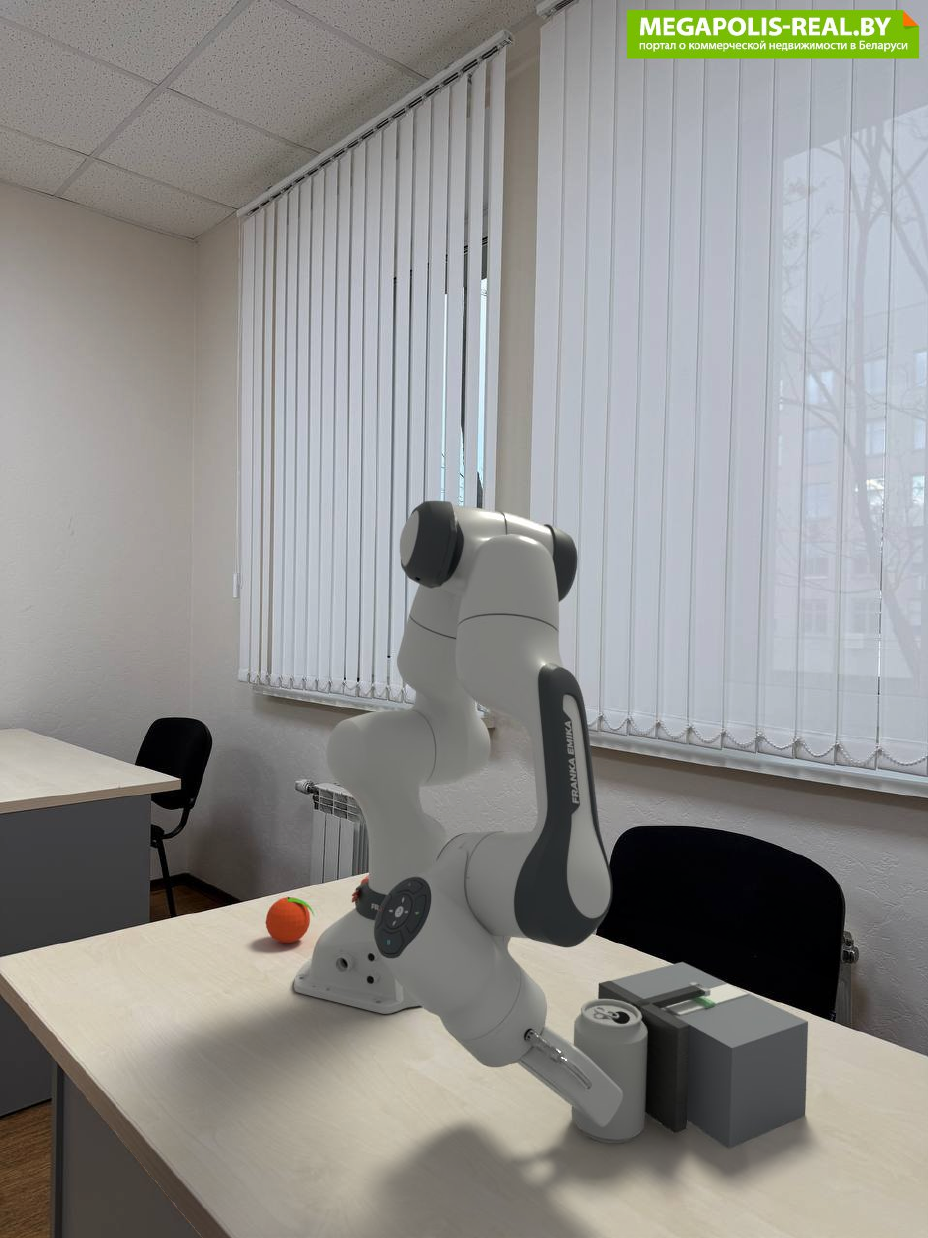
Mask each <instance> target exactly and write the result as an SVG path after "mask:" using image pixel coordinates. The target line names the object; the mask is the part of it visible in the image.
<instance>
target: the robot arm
mask: <svg viewBox="0 0 928 1238" xmlns="http://www.w3.org/2000/svg"><path fill="white" fill-rule="evenodd" d="M399 554H400V564H401V569H402V570H403V572H404V574H405V575H406V576H407V578H408V579H409V580H411V581H413V582H415V583H417V584H419V585H418V586H417V589H416V593H415V595H414V598H413V601H412V605H411V607H410V611H409V614H408V618H407V622H406V625H405V628H404V631H403V635H402V639H401V642H400V643H401V644H400V646H399V651H398V654H397V657H396V665H397V670H398V672H399V675H400V677H401V678H402V680H403V681H404V682H405V684H406V685H407V686H409V687H410V688H411V689H412V690H414V691H415V699H414V703H413V704H412V706H411V708H410V709H406V710H389V711H388V710H385V711H371V712H367V713H363V714H359V715H355V716H352V717H349V718H346V719H343V720H341V721H340V722H339V723H337V724H336V725H335V727H334V729H333V730H332V731H331V733H330V735H329V739H328V741H327V746H326V762H327V766H328V768H329V769H328V770H329V772H330V774H331V776H332V778H334V779H333V780H335V782H336V783H337V784H338V785H339V786H340V787H341V788H342V789H344V790H345V791H347V792H348V793H349V794H350V795H351V796H352V797H353V799H354V800H355V802H356V803H357V804H358V806H359V808H360V811H361V812H362V814H363V818H364V821H365V825H366V829H367V837H368V839H367V840H368V875H366V876H365V877H364V878H363V879H362V880H361V882H360V885H358V886H357V887H356V888H355V889H354V890H355V891H354V892H353V893H352V894H351V897H352V898H351V903H354V905H355V907H354V908H353V909H352V910H350V911H349V912H347V913H346V914H344V915H343V916H342V917H340V918H339V919H338V920H336V921H334V923H331V925H330V926H328V927H327V928H326V929H325V930H324V931H323V932H322V933H321V934H320V936H319V938H318V939H317V941H316V942H315V945H314V948H313V953H312V956H311V959H309V960H308V961H306V962H305V963H304V964H303V965H302V966H301V967H300V968H299V969H298V971H297V972H296V974H295V976H294V983H293V989H294V991H295V992H296V993H299V994H302V995H306V996H311V997H314V998H318V999H322V1000H325V1001H326V1000H327V1001H329V1002H331V1001H332V1002H335V1003H338V1004H343V1005H347V1006H349V1007H355V1008H359V1009H363V1010H366V1011H371V1012H375V1013H379V1014H384V1015H386V1014H387V1015H388V1014H389V1015H390V1014H392V1013H395V1012H399V1011H401V1010H403V1009H407V1008H412V1007H419V1006H420V1007H422V1009H424V1010H425V1011H427V1012H429V1014H432V1015H436V1016H437V1017H439V1020H440V1021H441V1024H442V1025H443V1028H445V1030H446V1031H447V1033H448V1034H449V1035H451V1036H452V1037H453V1039H455V1040H456V1042H458V1043H459V1044H460V1045H461V1046H462V1047H463V1048H464V1049H465V1050H466V1051H467V1052H468V1053H469V1054H470V1055H471V1056H472V1057H474V1059H476V1060H477V1061H478V1062H479V1063H480V1064H482V1065H483V1066H486V1067H488V1068H501V1067H506V1066H508V1065H513V1064H518V1065H519V1066H521V1067H522V1068H523V1069H524V1070H525V1071H527V1072H528V1073H529V1074H531V1075H532V1076H534V1078H536V1079H538V1080H539V1081H540V1082H541V1083H542V1084H544V1085H545V1086H546V1087H548V1089H550V1090H551V1091H553V1093H555V1094H556V1095H558V1096H559V1097H561V1099H562V1100H564V1101H565V1102H566V1103H568V1104H569V1105H570V1106H571V1107H572V1106H573V1107H574V1108H575V1109H577V1110H578V1111H579V1112H581V1113H582V1114H583V1115H584V1116H586V1117H587V1118H588V1119H589V1120H591V1121H592V1122H593V1123H595V1124H596V1125H598V1126H600V1127H605V1126H606V1125H607V1124H608V1123H609V1122H610V1121H611V1119H612V1118H613V1116H614V1115H615V1113H616V1112H617V1110H618V1108H619V1106H620V1105H621V1102H622V1100H623V1092H622V1090H621V1089H620V1088H619V1087H618V1086H617V1085H616V1084H615V1083H614V1082H613V1081H612V1080H611V1079H610V1078H609V1077H608V1076H607V1075H606V1074H605V1073H604V1072H603V1071H602V1070H601V1069H600V1068H599V1067H598V1066H597V1065H596V1064H595V1063H594V1062H593V1061H592V1060H591V1059H590V1058H589V1057H588V1056H587V1055H585V1054H584V1053H583V1052H582V1051H581V1050H579V1049H578V1048H577V1047H576V1046H574V1043H572V1042H570V1041H569V1040H567V1039H566V1038H564V1037H563V1036H561V1035H560V1034H558V1033H557V1032H555V1031H554V1030H553V1029H552V1028H550V1027H548V1026H546V1019H547V1015H548V1013H547V1012H548V1003H547V999H546V998H547V997H546V995H545V993H544V991H543V989H542V988H541V986H540V985H539V984H538V983H537V982H536V981H535V980H534V979H533V978H532V977H531V975H529V973H527V972H526V970H524V969H523V967H522V966H521V965H520V964H519V963H518V962H517V961H516V960H515V958H514V957H513V956H512V955H511V954H510V952H509V948H508V946H509V942H510V940H511V938H519V939H529V940H531V941H534V942H539V943H544V944H548V945H551V946H556V947H561V948H573V947H576V946H579V945H580V944H582V943H584V942H585V941H586V940H587V939H588V938H589V937H590V936H591V935H592V934H593V933H594V932H595V931H596V930H597V929H598V927H599V926H600V925H601V924H602V922H603V921H604V919H605V917H606V915H608V913H609V909H610V907H611V903H612V899H613V880H612V878H613V877H612V873H611V869H610V863H609V860H608V856H607V853H606V852H607V851H606V848H605V846H604V842H603V836H602V834H601V828H600V820H599V811H598V805H597V802H598V801H597V794H596V793H597V792H596V787H595V777H594V769H593V760H592V759H593V758H592V751H591V741H590V733H589V726H588V718H587V711H586V706H585V705H586V704H585V702H584V701H585V700H584V696H583V693H582V689H581V687H580V684H579V682H578V680H577V678H576V677H575V676H574V674H573V673H572V672H571V671H570V670H569V669H567V668H565V667H564V665H563V662H562V658H561V654H560V645H559V642H560V640H559V638H560V637H559V636H560V635H559V634H560V602H562V601H563V600H564V599H565V598H566V597H567V595H568V594H569V592H570V590H571V589H572V586H573V584H574V582H575V579H576V574H577V569H578V561H579V560H578V559H579V558H578V550H577V548H576V545H575V542H574V539H573V538H572V536H571V535H569V534H568V533H567V532H565V531H563V530H562V529H559V528H558V527H555V526H553V525H551V524H548V523H546V524H541V523H538V522H536V521H535V520H531V519H528V518H526V517H522V516H519V515H517V514H513V513H509V512H506V511H502V510H498V511H497V510H496V511H495V510H490V509H486V508H481V507H480V508H479V507H476V506H475V507H474V506H468V505H459V504H458V505H457V504H452V502H451V501H446V500H426V501H423V502H421V503H420V504H419V505H417V506H416V507H415V508H413V510H412V512H411V513H410V516H409V517H408V519H407V520H406V522H405V524H404V526H403V528H402V531H401V534H400V539H399ZM475 702H476V703H477V704H479V705H480V706H482V707H483V708H485V709H488V710H490V711H493V712H495V713H497V714H499V715H503V716H505V717H508V718H511V719H513V720H516V721H517V722H519V723H520V724H521V725H522V726H523V727H524V729H525V730H526V732H527V733H528V736H529V738H530V742H531V745H532V756H533V770H534V783H535V793H536V794H535V795H536V796H535V797H536V809H537V820H536V823H535V826H534V827H533V829H532V830H528V831H503V830H497V831H489V830H488V831H475V832H474V831H473V832H464V833H460V834H458V835H456V836H454V837H452V838H451V839H450V840H449V841H448V839H449V838H448V834H447V831H446V829H445V827H444V826H443V825H442V823H441V822H440V821H439V820H437V819H436V818H435V817H433V816H431V815H430V814H428V813H426V812H424V810H423V807H422V803H421V796H420V789H421V788H424V787H426V788H427V787H431V786H439V785H441V786H442V785H448V784H454V783H457V782H460V781H462V780H465V779H468V778H471V777H472V776H474V775H478V774H479V773H480V772H481V771H482V770H484V768H485V767H486V765H487V763H488V761H489V758H490V754H491V750H492V749H491V747H492V746H491V736H490V731H489V729H488V728H487V725H486V724H485V722H484V720H482V718H481V717H480V715H478V712H477V711H476V708H475Z"/></svg>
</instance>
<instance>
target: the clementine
mask: <svg viewBox="0 0 928 1238" xmlns="http://www.w3.org/2000/svg"><path fill="white" fill-rule="evenodd" d="M310 911H311V912H312V916H315V914H314V911H313V909H312V907H311V906H310V905H309V903H307V902H306V901H304V900H303V899H299V898H297V897H291V896H287V897H282V898H280V899H278V900H277V901H275V902H274V903H273V904H272V905H271V906H270V907H269V909H268V911H267V914H266V918H265V927H266V930H267V932H268V934H269V935H270V937H271V938H272V939H274V940H275V941H277V942H279V943H281V944H291V943H296V942H297V941H299V940H300V939H301V938H303V936H304V935H305V934H307V931H308V929H309V927H310V921H311V916H310V915H311V914H310Z"/></svg>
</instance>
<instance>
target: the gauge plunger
mask: <svg viewBox="0 0 928 1238" xmlns="http://www.w3.org/2000/svg"><path fill="white" fill-rule="evenodd" d="M597 993H598V994H597V995H598V998H597V999H613V1000H618V1001H623V1002H626V1003H628V1004H631V1005H632V1006H634V1007H636V1008H637V1009H638V1010H639V1011H640V1012H641V1015H642V1019H641V1021H642V1022H643V1023H644V1024H645V1026H646V1028H647V1031H648V1038H647V1070H646V1103H645V1114H647V1115H648V1116H650V1118H653V1119H654V1120H655V1121H656V1122H658V1123H660V1124H661V1125H662V1126H664V1127H665V1128H666V1129H668V1130H669V1131H671V1132H673V1134H675V1135H676V1134H678V1133H681V1132H683V1131H685V1130H688V1129H687V1127H688V1125H687V1124H688V1123H687V1122H688V1120H687V1097H688V1064H689V1032H690V1025H689V1024H687V1023H685V1022H684V1021H682V1020H680V1019H678V1018H676V1017H675V1016H673V1015H671V1014H669V1013H667V1012H666V1011H664V1010H662V1009H660V1008H664V1007H667V1006H671V1005H674V1004H677V1003H681V1002H684V1001H688V1000H691V999H694V998H698V997H701V996H705V997H706V996H710V990H709V989H707V988H705V987H703V986H701V985H699V984H697V983H695V982H692V983H689V987H685V988H682V989H678V990H674V991H671V992H667V993H664V994H660V995H657V996H653V997H650V998H646V999H642V998H640V997H638V996H637V995H635V994H633V993H631V992H629V991H628V990H626V989H624V988H622V987H620V986H619V985H617V984H615V983H613V982H611V980H606V981H601V982H599V983H598V992H597Z"/></svg>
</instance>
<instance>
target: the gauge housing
mask: <svg viewBox="0 0 928 1238" xmlns="http://www.w3.org/2000/svg"><path fill="white" fill-rule="evenodd" d="M610 981H611V982H613V983H615V984H617V985H619V986H620V987H622V988H624V989H626V990H628V991H629V992H631V993H633V994H635V995H637V996H638V997H640V998H642V999H646V998H650V997H653V996H657V995H660V994H664V993H667V992H671V991H674V990H678V989H682V988H685V987H689V983H692V982H695V983H697V984H699V985H701V986H703V987H705V988H707V989H709V990H710V996H706V997H705V996H701V997H698V998H694V999H691V1000H688V1001H684V1002H681V1003H677V1004H674V1005H671V1006H667V1007H664V1008H660V1009H662V1010H664V1011H666V1012H667V1013H669V1014H671V1015H673V1016H675V1017H676V1018H678V1019H680V1020H682V1021H684V1022H685V1023H687V1024H689V1025H690V1032H689V1064H688V1097H687V1122H690V1124H692V1125H694V1126H695V1127H697V1128H698V1129H699V1130H702V1131H703V1132H704V1133H705V1134H707V1135H709V1137H711V1138H713V1139H714V1140H716V1141H717V1142H719V1143H720V1144H721V1145H723V1146H725V1147H726V1148H728V1149H731V1148H733V1147H736V1146H738V1145H740V1144H743V1143H746V1142H747V1141H750V1140H753V1139H754V1138H756V1137H757V1138H758V1137H759V1136H760V1135H763V1134H765V1133H768V1132H770V1131H772V1130H775V1129H777V1128H779V1127H782V1126H784V1125H786V1124H788V1123H790V1122H792V1121H795V1120H797V1119H799V1118H802V1117H804V1116H806V1108H807V1107H806V1106H807V1105H806V1104H807V1103H806V1102H807V1074H808V1073H807V1072H808V1071H807V1070H808V1037H809V1035H808V1034H809V1033H808V1031H809V1021H808V1020H806V1019H803V1018H802V1017H800V1016H798V1015H795V1014H793V1013H791V1012H789V1011H787V1010H784V1009H783V1008H780V1007H778V1006H776V1005H774V1004H772V1003H770V1002H769V1001H766V1000H764V999H762V998H759V997H758V996H755V995H753V994H751V993H749V992H747V991H744V990H743V989H740V988H739V987H736V986H734V985H732V984H730V983H728V982H725V981H724V980H722V979H719V978H717V977H715V976H713V975H712V974H709V973H706V972H704V971H702V970H701V969H699V968H696V967H695V966H692V965H690V964H688V963H685V962H684V961H681V962H677V963H673V964H670V965H665V966H662V967H659V968H658V967H657V968H655V969H651V970H646V971H642V972H639V973H636V974H630V975H627V976H624V977H620V978H615V979H611V980H610Z"/></svg>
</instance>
